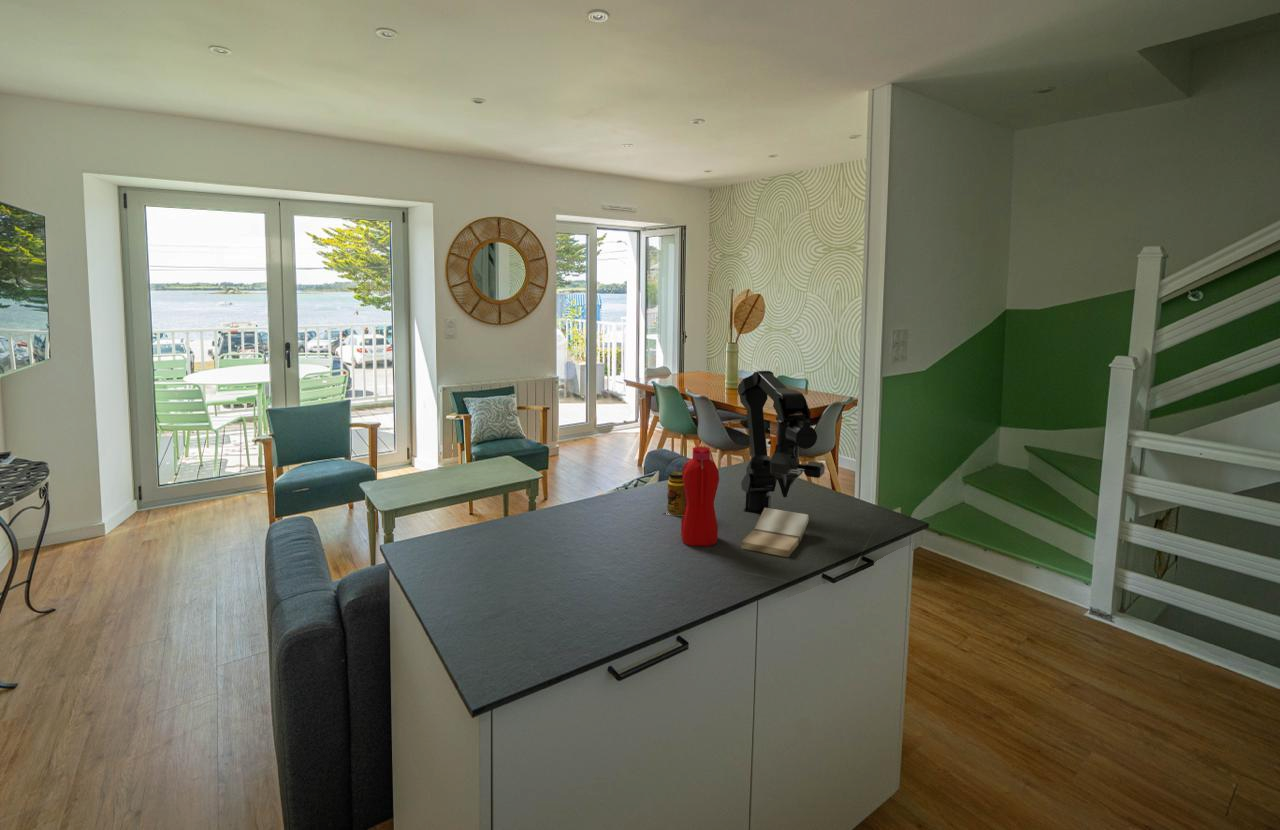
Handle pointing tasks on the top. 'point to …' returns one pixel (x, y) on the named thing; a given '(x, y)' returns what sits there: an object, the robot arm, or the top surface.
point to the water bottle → (700, 499)
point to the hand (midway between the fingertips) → (785, 497)
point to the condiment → (676, 494)
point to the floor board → (770, 543)
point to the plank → (782, 522)
